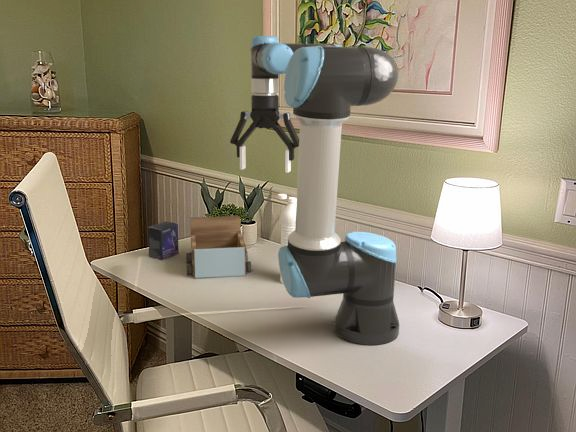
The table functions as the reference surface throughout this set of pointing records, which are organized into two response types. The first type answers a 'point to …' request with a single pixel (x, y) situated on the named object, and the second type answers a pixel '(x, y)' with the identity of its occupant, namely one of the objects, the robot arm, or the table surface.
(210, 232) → the box
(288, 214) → the water bottle
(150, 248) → the box
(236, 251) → the panel
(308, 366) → the table surface
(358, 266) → the robot arm
